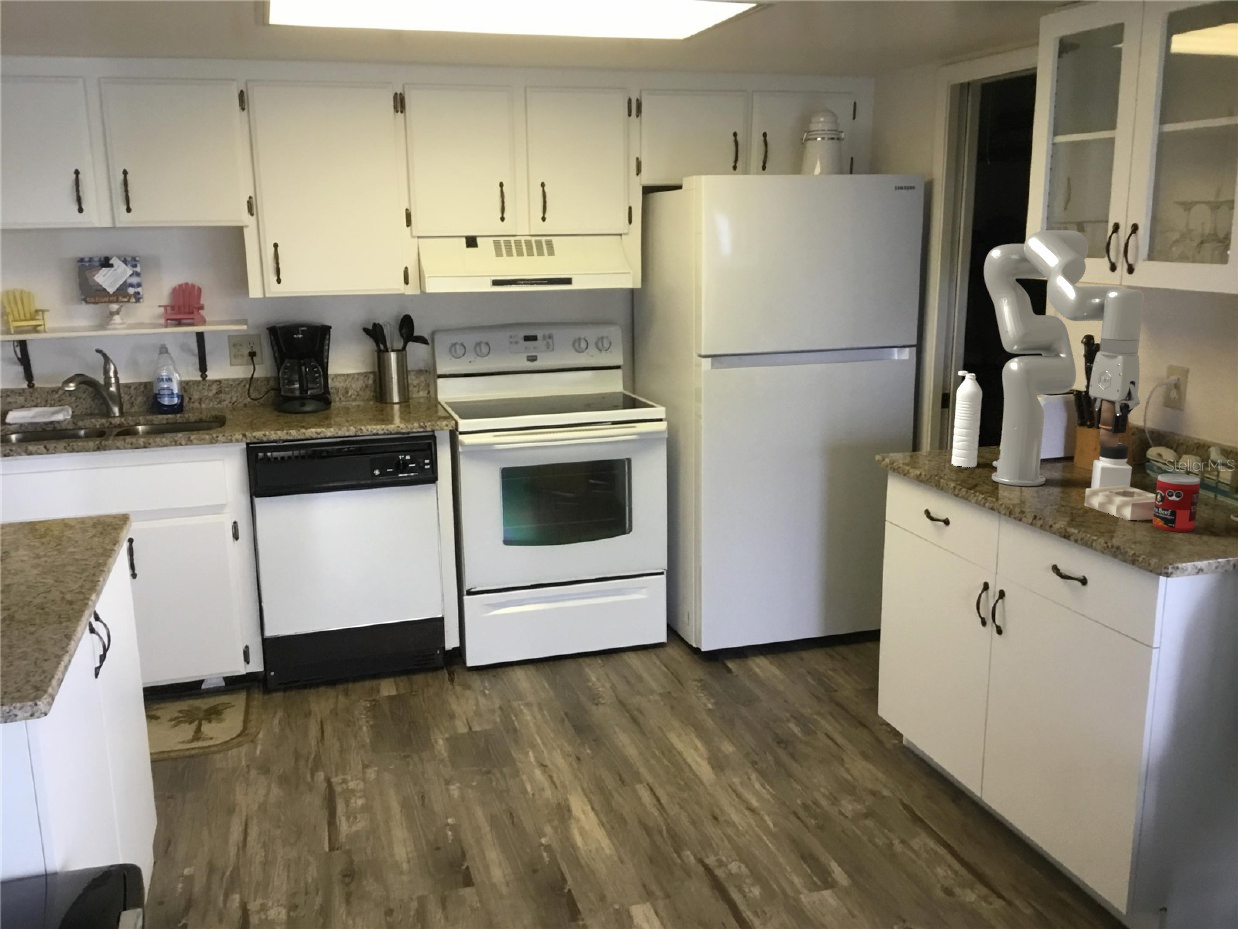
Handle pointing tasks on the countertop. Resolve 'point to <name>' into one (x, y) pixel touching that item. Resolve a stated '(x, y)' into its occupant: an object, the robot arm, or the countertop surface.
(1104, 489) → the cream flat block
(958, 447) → the water bottle
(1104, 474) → the medicine bottle
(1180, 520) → the canned food
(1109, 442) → the peg
